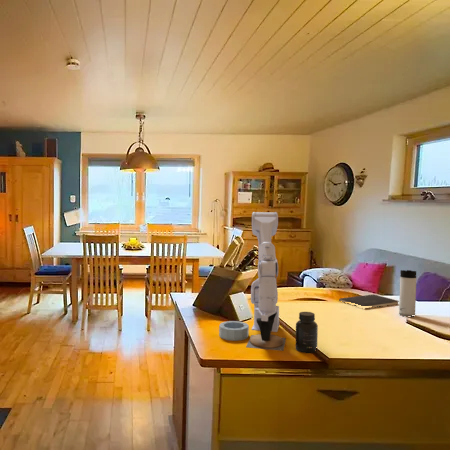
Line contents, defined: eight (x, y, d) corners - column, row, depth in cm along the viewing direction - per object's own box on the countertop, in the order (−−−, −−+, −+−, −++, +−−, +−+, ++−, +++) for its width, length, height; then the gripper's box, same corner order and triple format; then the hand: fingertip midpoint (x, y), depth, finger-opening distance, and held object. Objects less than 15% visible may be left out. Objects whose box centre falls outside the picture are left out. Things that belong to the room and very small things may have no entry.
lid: (284, 338, 129) (284, 322, 129) (281, 349, 119) (282, 332, 119) (252, 335, 132) (253, 320, 132) (247, 346, 121) (247, 329, 121)
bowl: (250, 333, 136) (250, 322, 135) (245, 342, 126) (245, 330, 126) (223, 330, 138) (223, 320, 138) (216, 340, 128) (216, 328, 128)
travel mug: (399, 316, 160) (400, 269, 159) (398, 312, 166) (400, 267, 165) (415, 318, 158) (417, 271, 157) (414, 314, 164) (415, 268, 163)
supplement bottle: (292, 346, 123) (293, 310, 122) (313, 346, 123) (314, 310, 123) (298, 354, 116) (299, 316, 115) (320, 354, 116) (321, 316, 116)
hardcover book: (398, 305, 181) (399, 300, 181) (363, 310, 171) (363, 305, 171) (372, 298, 195) (372, 294, 195) (338, 302, 185) (339, 298, 185)
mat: (285, 339, 130) (285, 338, 130) (283, 351, 118) (283, 350, 118) (251, 336, 132) (251, 335, 132) (245, 348, 121) (245, 347, 121)
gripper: (258, 291, 133) (257, 329, 133) (252, 300, 119) (251, 342, 119) (278, 292, 131) (277, 330, 132) (274, 301, 117) (273, 344, 117)
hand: (266, 336), depth 125 cm, fingers open, 7 cm apart
